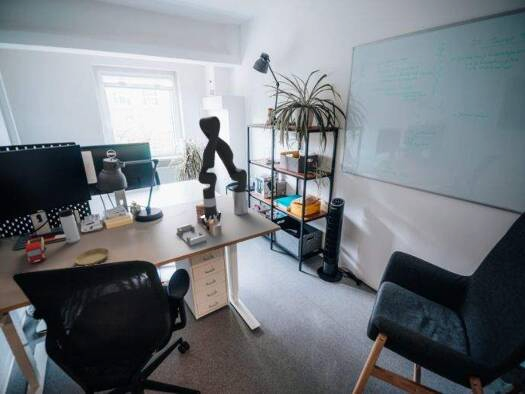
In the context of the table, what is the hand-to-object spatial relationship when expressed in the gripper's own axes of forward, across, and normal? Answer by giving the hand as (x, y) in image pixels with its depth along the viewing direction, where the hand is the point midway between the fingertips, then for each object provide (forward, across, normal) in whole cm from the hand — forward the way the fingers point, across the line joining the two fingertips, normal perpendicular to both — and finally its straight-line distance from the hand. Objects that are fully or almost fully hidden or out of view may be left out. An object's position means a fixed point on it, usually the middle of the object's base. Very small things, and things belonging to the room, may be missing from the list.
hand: (212, 229), depth 156 cm
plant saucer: (+1, +63, -10) cm, 63 cm away
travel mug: (+1, +69, -40) cm, 80 cm away
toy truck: (+1, +84, -33) cm, 91 cm away
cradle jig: (+1, +14, 0) cm, 14 cm away
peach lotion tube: (+1, 0, 0) cm, 1 cm away
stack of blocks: (+1, -8, -22) cm, 24 cm away
